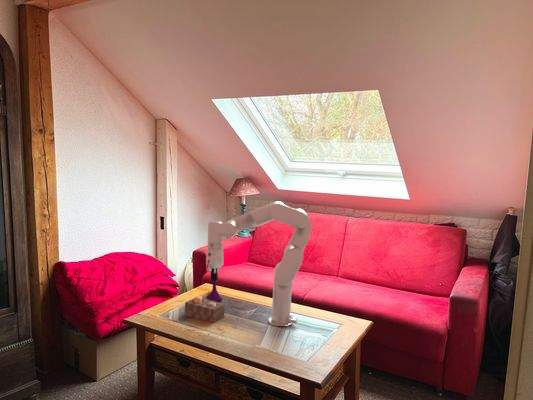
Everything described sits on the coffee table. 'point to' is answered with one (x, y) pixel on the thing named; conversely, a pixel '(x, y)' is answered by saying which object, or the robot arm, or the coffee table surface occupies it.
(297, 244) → the robot arm
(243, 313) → the coffee table surface
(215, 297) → the perfume bottle
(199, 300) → the terracotta plug
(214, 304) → the beech plug
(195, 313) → the walnut block
